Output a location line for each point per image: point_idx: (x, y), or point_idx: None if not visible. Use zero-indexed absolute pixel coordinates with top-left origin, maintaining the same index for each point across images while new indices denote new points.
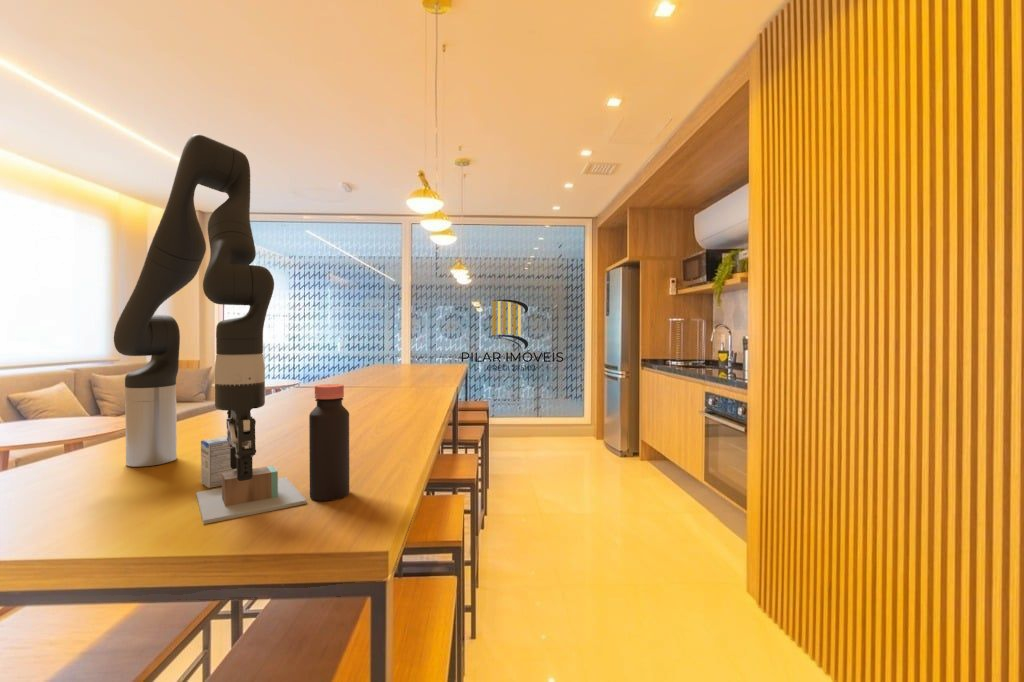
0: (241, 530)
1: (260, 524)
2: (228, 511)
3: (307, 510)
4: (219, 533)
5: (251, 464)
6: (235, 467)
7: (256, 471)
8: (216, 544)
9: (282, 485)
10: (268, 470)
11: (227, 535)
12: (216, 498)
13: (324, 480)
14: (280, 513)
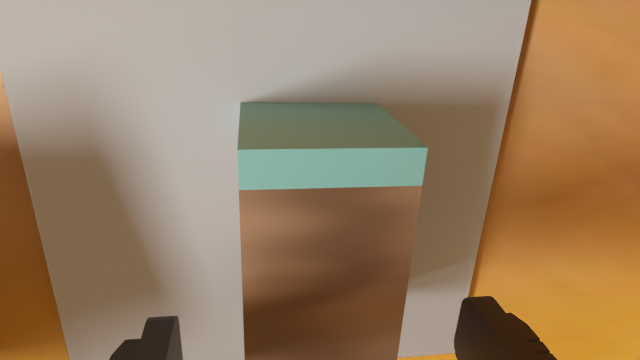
0: (590, 256)
1: (591, 202)
2: (426, 291)
3: (604, 15)
4: (560, 307)
5: (534, 357)
6: (182, 357)
7: (336, 258)
8: (629, 313)
9: (183, 36)
10: (360, 193)
11: (593, 290)
12: (227, 322)
13: None
14: (545, 123)
